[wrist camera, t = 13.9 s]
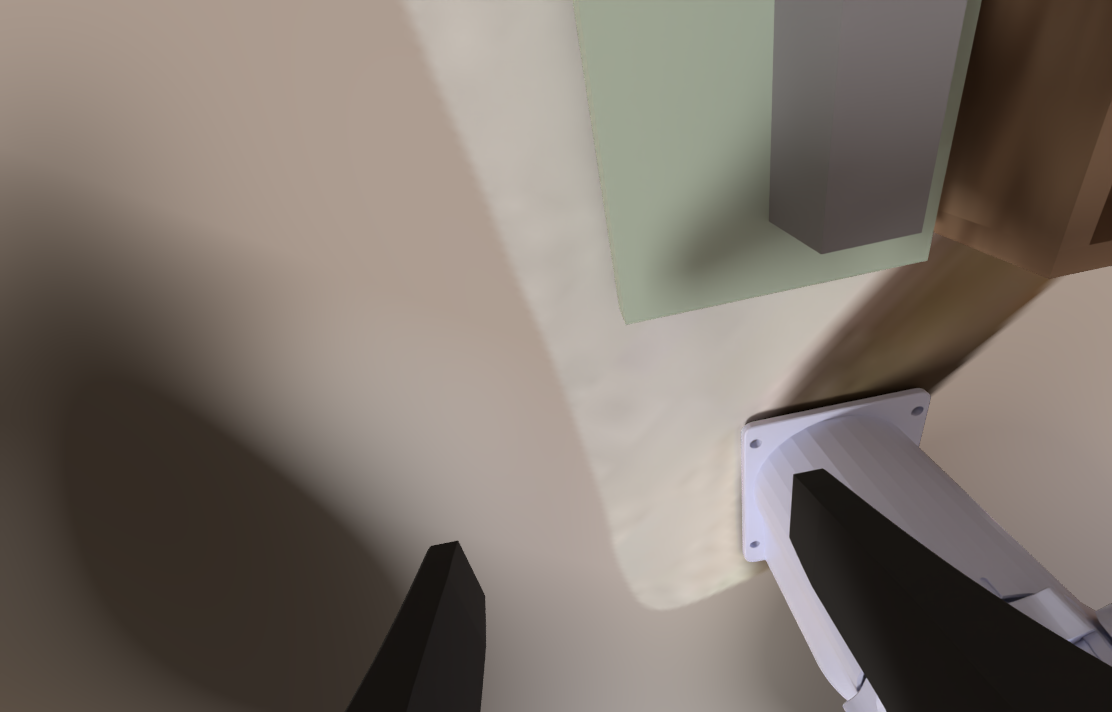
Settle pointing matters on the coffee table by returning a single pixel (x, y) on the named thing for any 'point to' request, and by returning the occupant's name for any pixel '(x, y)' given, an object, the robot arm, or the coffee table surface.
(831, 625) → the robot arm
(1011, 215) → the toolbox
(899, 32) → the toolbox lid
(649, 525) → the coffee table surface
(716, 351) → the coffee table surface
